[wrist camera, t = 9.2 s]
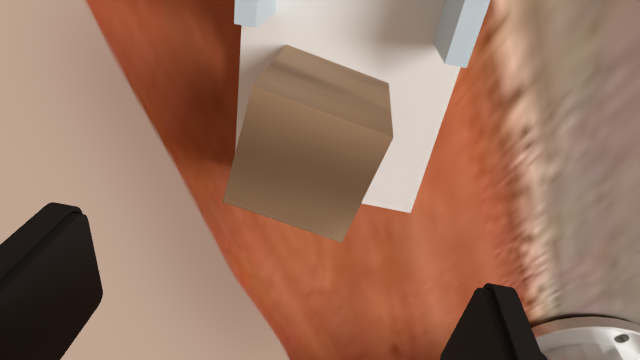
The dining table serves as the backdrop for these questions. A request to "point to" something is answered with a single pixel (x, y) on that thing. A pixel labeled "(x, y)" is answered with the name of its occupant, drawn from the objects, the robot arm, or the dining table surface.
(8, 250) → the robot arm
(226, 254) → the dining table surface
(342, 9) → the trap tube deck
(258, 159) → the walnut block
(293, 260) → the dining table surface
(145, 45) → the dining table surface
